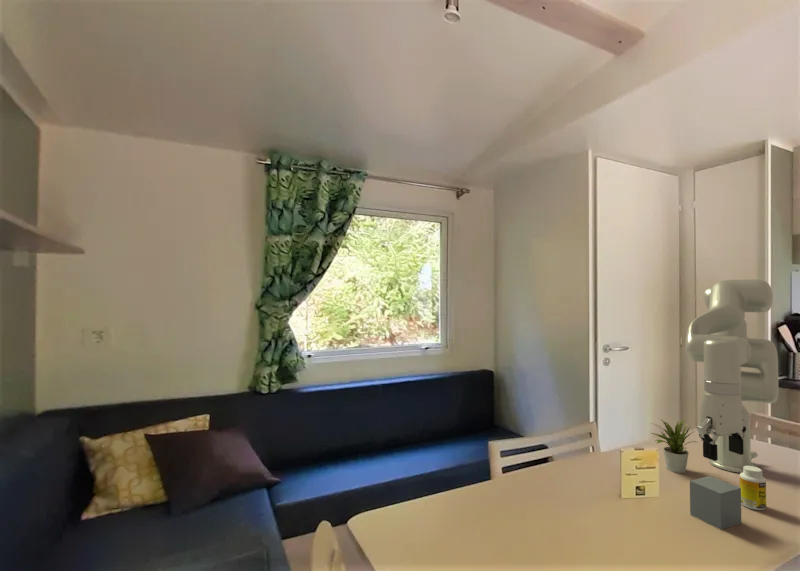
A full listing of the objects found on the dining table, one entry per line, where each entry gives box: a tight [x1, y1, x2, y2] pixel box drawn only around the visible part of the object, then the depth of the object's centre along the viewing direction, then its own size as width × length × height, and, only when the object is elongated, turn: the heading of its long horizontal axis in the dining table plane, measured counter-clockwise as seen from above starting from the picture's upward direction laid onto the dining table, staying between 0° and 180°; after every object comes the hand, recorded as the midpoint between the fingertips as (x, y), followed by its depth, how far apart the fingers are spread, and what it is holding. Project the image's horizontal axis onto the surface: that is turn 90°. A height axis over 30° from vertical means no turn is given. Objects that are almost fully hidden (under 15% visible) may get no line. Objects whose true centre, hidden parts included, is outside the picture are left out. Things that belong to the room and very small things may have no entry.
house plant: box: [650, 418, 699, 474], centre depth 144 cm, size 14×14×16 cm
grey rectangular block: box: [689, 475, 742, 530], centre depth 113 cm, size 8×8×9 cm
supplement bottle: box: [739, 466, 767, 511], centre depth 119 cm, size 6×6×10 cm
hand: (723, 455), depth 111 cm, fingers open, 9 cm apart
